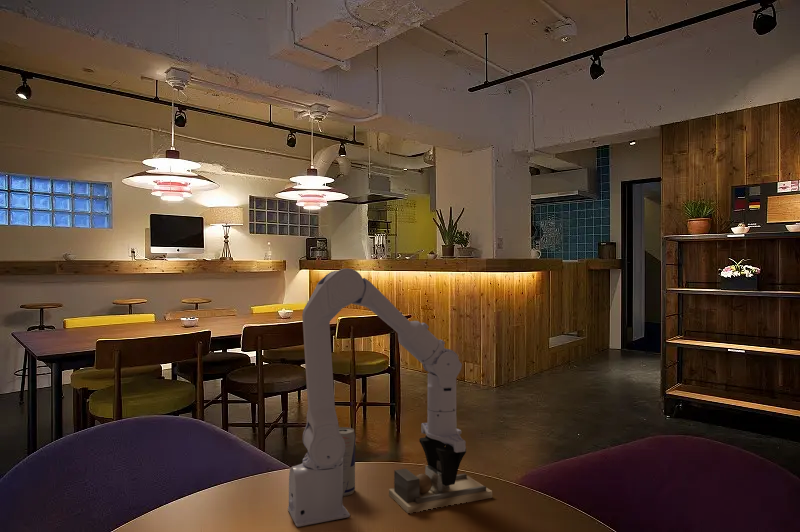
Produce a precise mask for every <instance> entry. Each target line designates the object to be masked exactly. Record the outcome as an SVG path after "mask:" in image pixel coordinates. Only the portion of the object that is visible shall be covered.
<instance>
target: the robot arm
mask: <svg viewBox="0 0 800 532" xmlns="http://www.w3.org/2000/svg"><path fill="white" fill-rule="evenodd" d="M351 304H352V305H356V306H360V307H364V308H367V309H368V310H370V311H371V312H372V313H373V314H374V315H376V316H377V317H378V318H380V320H382V322H384V323H385V324H387V326H389V327H390V328H391V329H393V331H395V332H396V333H397V339H398V340H397V341H398V344H399V345H400V346H402V347H403V348H404V349H405V350H406V351H407V352H408V353H410V355H412V357H414V358H415V359H416V360H417V361H418V362H420V363H421V364H422V367H423V369H424V371H426V372H427V386H426V387H427V411H426V412H427V414H426V415H427V421H426V422H422V423H421V426H420V427H421V430H420V431H421V434H425V436H424V437H420V438H419V441H418V442H419V443H420V445H421V447H422V451H423V453H424V455H425V459H426V463H427V465H430V466H432V467H433V468H435V469H436V470H437V459H438V458H439V459H440V463H441V469H442V479H443V483H444V485H445V486H448V485H453V484H455V480H456V476H457V475H458V471H459V468H460V465H461V462H462V460H463V458H464V457H465V455H466V453H467V447H466V440H465V439H464V438H462V436H461V434H462V430H461V428H460V429H459V428H457V377H458V375H459V374H460V373H461V370H462V367H463V364H462V362H460V359H459V355H458V353H457V352H455V351H454V350H453V349H450V348H446V347H445V344H446V342H445V341H444V340H443V339H438V338H437V337H436V336H435V335H434V334H433V333H432V332H431V331H430V330H428V329H429V328H430V327H429V325H428V324H427V323H426V322H420V321H419V320H410V321H409V319H408V318H407V317H406V316H405V315H404V314H403V313H402V312H401V311H400V310H399V309H398V308H397V307H396V306H395V305H394V304H393V303H392V302H391V301H390V300H389V299H388V298H387V297H386V296H385V295H384V294H383V293H382V292H381V291H380V290H379V288H377V287H376V286H375V285H374V284H373V283H372V282H371V281H369V279H367V278H365V277H364V278H363V277H362V275H361V274H360V273H359V272H358V271H357V270H355V269H353V268H348V267H347V268H346V267H345V268H342V269H339V270H334V271H330V272H329V273H327V274H326V275H324V276H323V277H322V278H321V279H320V280H319V281H318V282H317V284H316V286H315V288H314V289H313V292H312V294H311V296H310V297H309V299H308V301H307V302H306V304H305V306H304V308H303V310H302V318H301V319H302V332H303V334H302V335H303V348H304V349H303V350H304V361H305V362H304V364H305V365H304V366H305V379H306V381H305V383H306V395H307V411H306V425H305V428H304V430H303V433H302V443H303V445H304V448H306V449H307V452H306V453H305V454H304V457H303V458H302V463H299V464H297V465H293V466H291V467H290V468H289V474H288V506H287V511H288V512H289V515H290V517H291V519H292V521H293V522H294V525H295V526H296V527H297V528H300V527H304V526H309V525H315V524H320V523H325V522H331V521H335V520H336V521H337V520H342V519H347V518H350V517H351V513H350V512H349V511H348V510H347V509H346V507H345V506H344V503H343V501H344V500H343V499H344V496H343V456H344V453H345V442H344V439H343V438H342V436H341V434H340V432H339V427H340V426H339V420H338V416H337V415H338V414H337V412H336V405H335V404H336V403H335V402H336V401H335V390H334V388H335V387H334V374H333V373H334V372H333V359H332V343H331V341H332V340H331V326H330V323H331V321H332V320H333V319H334V318H335V317H336V316H337V315H338V314H339V312H341V311H342V309H345V308H346V307H348V306H350V305H351Z"/></svg>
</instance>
